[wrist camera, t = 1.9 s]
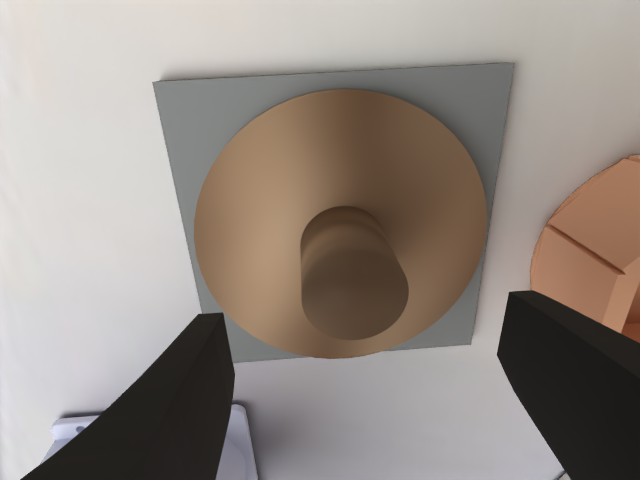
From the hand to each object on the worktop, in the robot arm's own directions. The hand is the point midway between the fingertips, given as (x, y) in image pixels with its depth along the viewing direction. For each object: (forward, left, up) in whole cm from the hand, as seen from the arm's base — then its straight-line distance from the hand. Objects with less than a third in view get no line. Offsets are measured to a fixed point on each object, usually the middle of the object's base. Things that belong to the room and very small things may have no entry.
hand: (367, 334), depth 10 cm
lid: (0, 0, -6) cm, 6 cm away
